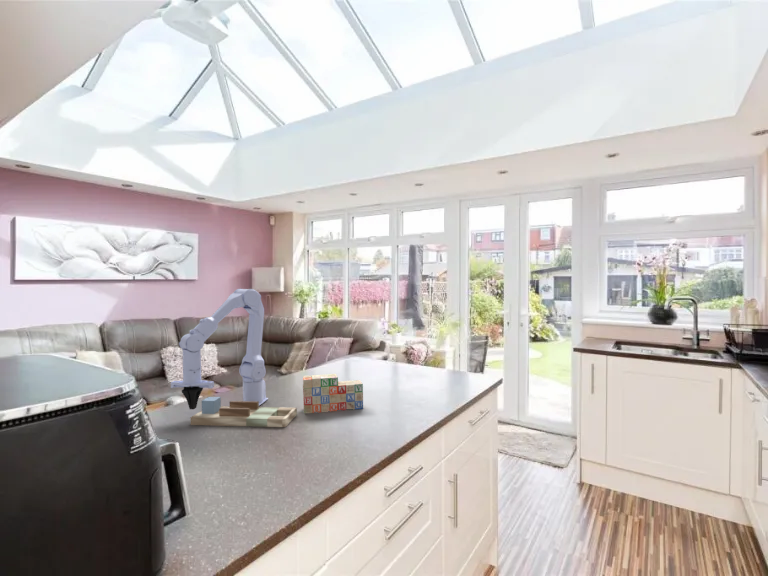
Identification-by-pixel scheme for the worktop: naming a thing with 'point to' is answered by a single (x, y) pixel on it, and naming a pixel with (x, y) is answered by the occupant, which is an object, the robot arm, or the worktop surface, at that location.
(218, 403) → the block
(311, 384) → the stack of blocks
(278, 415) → the board
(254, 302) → the robot arm
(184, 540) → the worktop surface
